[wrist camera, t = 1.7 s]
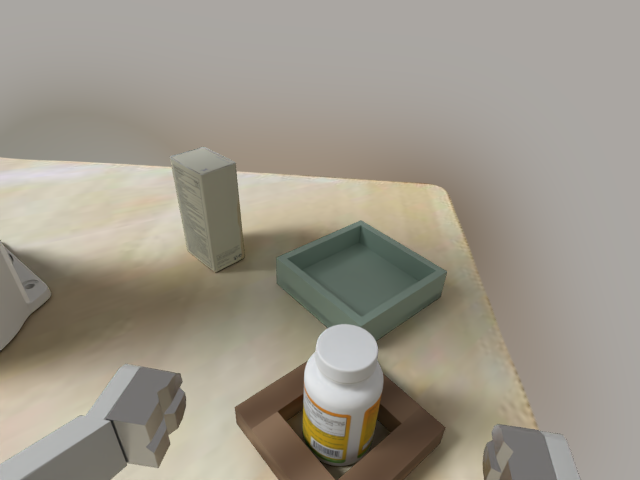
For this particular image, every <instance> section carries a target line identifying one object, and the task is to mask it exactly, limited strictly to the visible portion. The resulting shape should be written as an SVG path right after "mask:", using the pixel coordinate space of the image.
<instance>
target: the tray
mask: <svg viewBox="0 0 640 480" xmlns="http://www.w3.org/2000/svg"><path fill="white" fill-rule="evenodd" d="M276 272H277V284H278V285H279V286H280V287H282V288H283V289H284V290H285V291H286V292H287V293H288V294H290V295H291V296H292V297H293V298H294V299H295V300H296V301H298V302H299V303H300V304H301V305H302V306H303V307H304V308H306V309H307V310H308V311H309V312H310V313H311V314H313V315H314V316H315V317H316V318H317V319H318V320H319V321H321V322H322V323H323V324H324V325H325V326H326V327H327V328H329V327H332V326H335V325H340V324H349V325H355V326H358V327H361V328H363V329H365V330H366V331H368V332H369V333H370V334H371V335H372V336H373V337H374V339H375V340H376V341H377V340H378V339H380V338H381V337H382V336H384V335H385V334H387V333H388V332H390V331H391V330H393V329H394V328H396V327H397V326H399V325H400V324H402V323H403V322H404V321H406V320H407V319H409V318H410V317H412V316H413V315H415V314H416V313H418V312H419V311H421V310H422V309H424V308H425V307H427V306H428V305H429V304H431V303H432V302H434V301H435V300H437V299H438V298H440V297H441V293H442V289H443V285H444V282H445V278H446V274H447V271H445V270H444V269H442V268H440V267H439V266H437V265H435V264H434V263H432V262H430V261H429V260H427V259H425V258H423V257H422V256H420V255H418V254H417V253H415V252H413V251H412V250H410V249H408V248H407V247H405V246H403V245H402V244H400V243H398V242H397V241H395V240H393V239H391V238H390V237H388V236H386V235H385V234H383V233H381V232H380V231H378V230H376V229H375V228H373V227H371V226H370V225H368V224H366V223H365V222H363V221H358V222H356V223H354V224H351V225H349V226H347V227H345V228H342V229H340V230H338V231H336V232H333V233H331V234H329V235H326V236H324V237H322V238H320V239H317V240H315V241H313V242H311V243H308V244H306V245H304V246H301V247H299V248H297V249H295V250H292V251H290V252H288V253H286V254H283V255H281V256H279V257H277V258H276Z"/></svg>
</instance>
